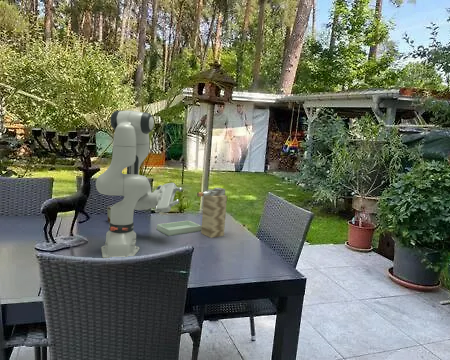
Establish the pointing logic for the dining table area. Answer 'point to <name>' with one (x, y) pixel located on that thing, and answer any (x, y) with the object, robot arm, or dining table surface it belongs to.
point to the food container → (109, 212)
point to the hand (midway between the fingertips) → (180, 195)
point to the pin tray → (178, 228)
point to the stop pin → (204, 193)
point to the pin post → (214, 213)
